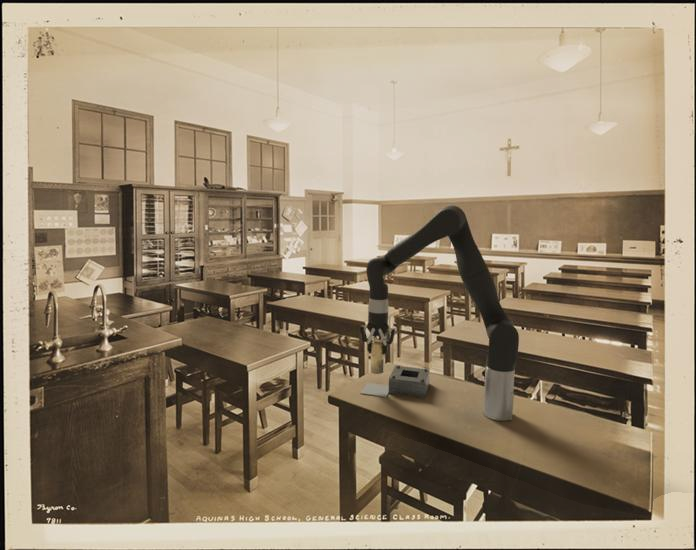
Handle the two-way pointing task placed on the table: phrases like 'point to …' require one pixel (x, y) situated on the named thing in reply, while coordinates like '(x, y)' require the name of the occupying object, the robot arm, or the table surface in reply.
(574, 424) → the table surface
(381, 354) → the brass cylindrical shaft
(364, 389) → the rubber mat
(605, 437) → the table surface
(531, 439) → the table surface
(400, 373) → the grey square socket block
